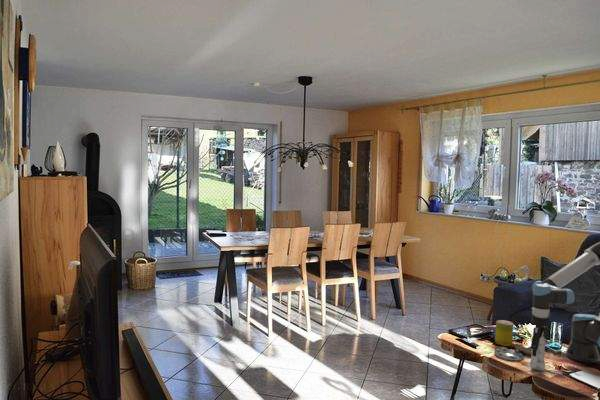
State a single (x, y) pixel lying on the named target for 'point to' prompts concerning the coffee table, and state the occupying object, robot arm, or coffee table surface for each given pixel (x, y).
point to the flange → (508, 354)
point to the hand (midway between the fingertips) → (537, 358)
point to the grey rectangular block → (523, 349)
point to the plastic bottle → (540, 355)
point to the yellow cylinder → (504, 333)
